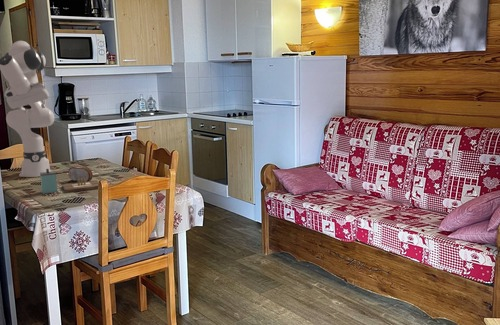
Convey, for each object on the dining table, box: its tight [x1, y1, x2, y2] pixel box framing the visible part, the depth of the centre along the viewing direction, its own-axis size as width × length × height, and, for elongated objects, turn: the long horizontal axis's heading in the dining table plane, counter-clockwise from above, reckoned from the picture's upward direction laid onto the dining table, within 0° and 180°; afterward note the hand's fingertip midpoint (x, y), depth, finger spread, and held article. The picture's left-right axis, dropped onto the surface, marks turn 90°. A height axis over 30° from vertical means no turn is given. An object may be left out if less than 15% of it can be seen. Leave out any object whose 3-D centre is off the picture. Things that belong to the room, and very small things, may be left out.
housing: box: [39, 169, 58, 195], centre depth 257 cm, size 5×7×12 cm
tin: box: [67, 165, 94, 182], centre depth 279 cm, size 15×3×8 cm, turn 68°
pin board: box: [61, 178, 99, 194], centre depth 265 cm, size 14×18×5 cm
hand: (35, 110), depth 258 cm, fingers open, 8 cm apart
